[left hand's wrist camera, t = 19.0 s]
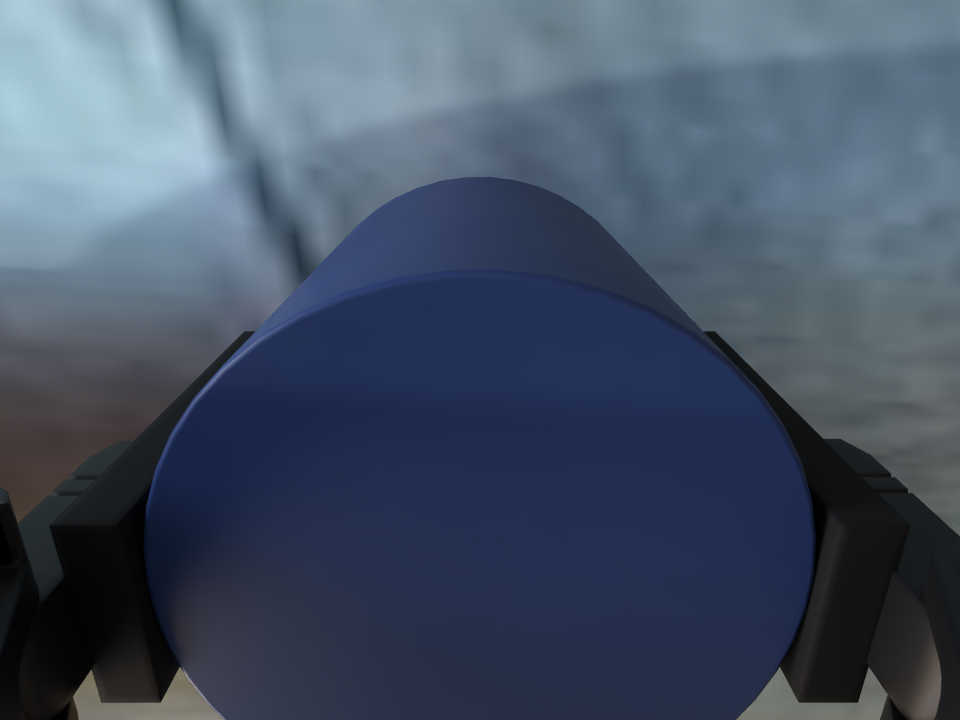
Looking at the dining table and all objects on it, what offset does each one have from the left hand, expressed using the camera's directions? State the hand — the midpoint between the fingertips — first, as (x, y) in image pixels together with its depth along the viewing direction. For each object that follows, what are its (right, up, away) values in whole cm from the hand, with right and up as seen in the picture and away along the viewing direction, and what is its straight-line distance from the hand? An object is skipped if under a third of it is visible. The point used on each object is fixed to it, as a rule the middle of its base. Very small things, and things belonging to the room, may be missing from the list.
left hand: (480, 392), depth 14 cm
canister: (0, +1, +2) cm, 2 cm away
